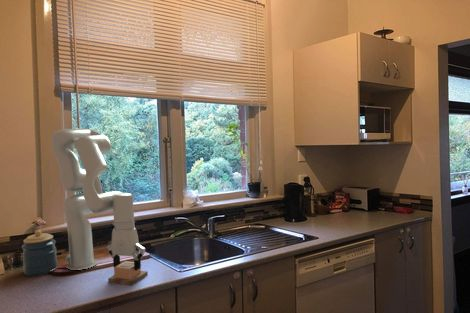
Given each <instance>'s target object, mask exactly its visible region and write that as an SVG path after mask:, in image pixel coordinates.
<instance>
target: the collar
mask: <svg viewBox="0 0 470 313" xmlns="http://www.w3.org/2000/svg"><path fill="white" fill-rule="evenodd" d="M126 263H130V264H133V265H132V266H130V267H121V266H122V265H124V264H126ZM141 271H142V270H141V268H140V269H138V270H137V271H135V270H134V261H126V260H125V261H123V262H120V264H119V265H118V266H116V267H114V266H113V275H115V278H123V279H131V278H133V277H134V276H136V275H137V274H139V273H141Z"/></svg>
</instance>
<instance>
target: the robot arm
mask: <svg viewBox="0 0 470 313" xmlns="http://www.w3.org/2000/svg"><path fill="white" fill-rule="evenodd" d="M50 147H51V150H52V153H53V155H54V158H55V159H56V161H57V166H58V171H59V172H58V173H59V176H60V181H61V183H62V184H61V185H62V187H63V190H64V191H65V192H68V193H72V192H80V191H82V193H77V194H73V195H69V196H67V197H66V198H65V199H64V200H63V202H62V203H63V204H62V210H63V213H64V216H65V219H66V220H65V221H66V228H67V236H68V237H67V240H68V250H69V251H68V252H69V254H67V255H66V257H64V261H65V262H68V263H67V265H66V269H67V268H68V269H71V270H79V269H86V270H89V269H92V268H94V267H95V265H96V266H97V265H98V263H99V261H98V259H96V258H94V247H93V246H94V244H93V232H92V225H91V222H90V221H89V219H88V218H87V215H90V214H97V215H98V214H104V213H107V212H113V221H112V223H111V224H112V225H113V226H114V228H113V229H112V232H111V243H110V244H108V245H107V246H106V248H107V250H108V253H109V254H110V256H111V259H112V260H113V261H112V262H113V268H114V267H116V266H118V265H119V264H121V257H120V256H124V257H131V256H132V257H133V259H134V260H133V262H134V270H135V271H137V270H138V269H140V268H141V267H142V264H141V263H142V262H141V259H142V258H143V256H144V255H145V252H146V250H147V249H146V248H145V247H144V246H142V245H141V244H140V241H139V235H138V234H139V233H138V230H137V228H136V227H135V214H134V213H135V212H134V209H135V208H134V198H133V194H132V193H129V192H123V191H120V190H119V191H118V190H112V191H107V192H103V186H102V182H101V178H100V176H101V175H102V174H104V173H105V172H106V171H107V169H108V165H107V162H106V161H105V158H104V156H103V155H107V154H109V153H110V151H111V148H112V145H111V141H110V139H109V138H108V137H107V135H104V134H103V133H101V132H98V131H96V130H94V129H91V128H63V129H62V128H61V129H58V130H56V131H54V133H52V135H51V138H50ZM72 149H75V150H76V152H77V155H76V154H75V153H74V152H73V151H72ZM79 159H80V160H79ZM80 162H81V164H82V166H83V168H81V167H82V166H81V164H80ZM93 266H94V267H93ZM91 267H92V268H91ZM88 268H89V269H88ZM68 269H67V270H68Z"/></svg>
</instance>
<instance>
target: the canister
mask: <svg viewBox="0 0 470 313" xmlns="http://www.w3.org/2000/svg"><path fill="white" fill-rule="evenodd" d="M56 242H57V241H56V240H55V239H54V235H52V234H50V233H47V232H43V233H42V231H41V230H35V231H34V234H31V235H28V236H27V237H26V238H24V239H23V244H22V245H21V249H22V250H23V253H22V260H23V261H22V262H23V273H24V275H25V276H27V277H37V276H43V275H44V276H45V275H47V274H50V273H51V272H50V270H52V269H54V268H56V267H57V268H58V266H59V263H58V257H57V247H56V245H55V244H56ZM49 272H50V273H49Z"/></svg>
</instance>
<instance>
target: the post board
mask: <svg viewBox="0 0 470 313" xmlns="http://www.w3.org/2000/svg"><path fill="white" fill-rule="evenodd" d="M132 265H133V264H130V263H126V264H124V265H122V266H121V267H130V266H132ZM148 272H149V271H147V270H141V273H139V274H137V275H136V276H134V277H133V278H131V279H123V278H115V274H113V275H112V276H110V277H108V278H107V279H108V280H107V282H108V283H111V284H120V285H128V286H133V285H135V284H136V283H138V282H140V281H141V280H142V279H144V278H146V277H147V276H148Z"/></svg>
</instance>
